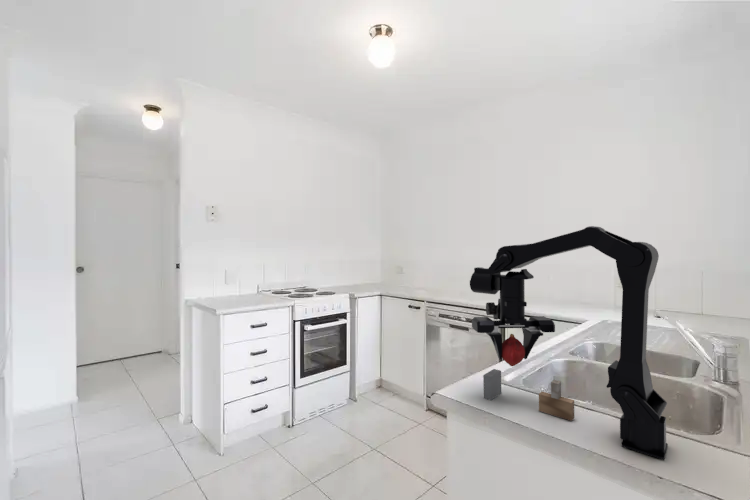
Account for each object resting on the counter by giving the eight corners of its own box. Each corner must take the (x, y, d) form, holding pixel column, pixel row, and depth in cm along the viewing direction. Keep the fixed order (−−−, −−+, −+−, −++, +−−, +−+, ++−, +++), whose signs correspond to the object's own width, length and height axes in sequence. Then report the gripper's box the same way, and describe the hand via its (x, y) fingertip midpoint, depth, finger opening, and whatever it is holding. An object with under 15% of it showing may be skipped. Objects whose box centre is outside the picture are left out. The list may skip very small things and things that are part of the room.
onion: (529, 369, 84) (529, 336, 84) (507, 371, 84) (506, 337, 84) (517, 361, 90) (517, 330, 90) (496, 362, 89) (495, 331, 89)
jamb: (501, 393, 93) (501, 370, 93) (490, 400, 89) (490, 376, 89) (494, 390, 94) (493, 368, 94) (483, 398, 90) (483, 375, 90)
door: (574, 417, 79) (574, 384, 79) (571, 420, 78) (571, 387, 77) (541, 407, 84) (541, 376, 84) (538, 410, 82) (538, 379, 82)
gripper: (535, 291, 95) (535, 348, 95) (466, 292, 95) (466, 349, 95) (556, 297, 83) (556, 362, 84) (477, 298, 84) (478, 363, 84)
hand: (512, 358), depth 87 cm, fingers closed on onion, 6 cm apart
